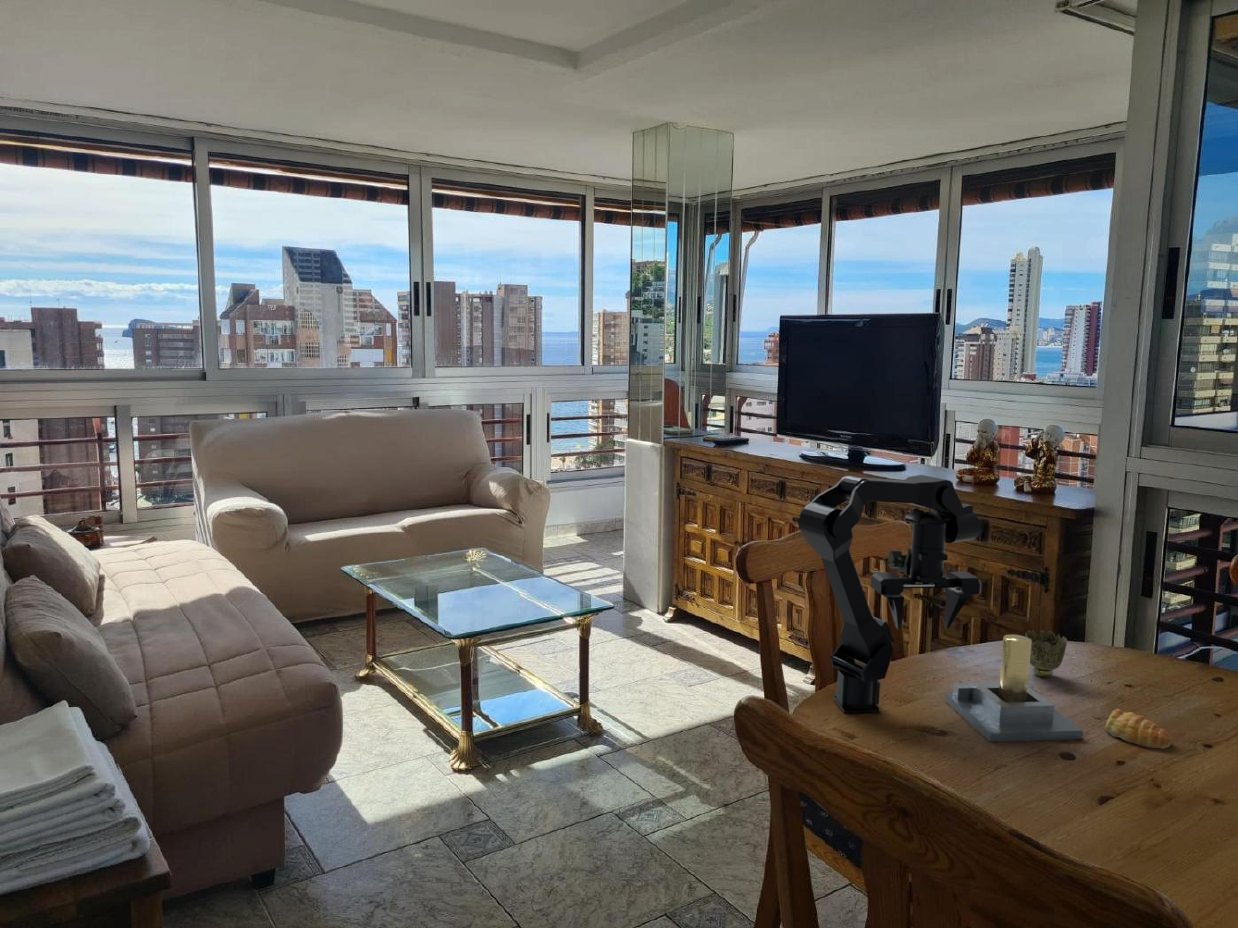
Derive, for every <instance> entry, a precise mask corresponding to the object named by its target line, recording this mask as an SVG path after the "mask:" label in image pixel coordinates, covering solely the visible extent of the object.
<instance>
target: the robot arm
mask: <svg viewBox="0 0 1238 928" xmlns="http://www.w3.org/2000/svg"><path fill="white" fill-rule="evenodd" d="M847 500H849V502H848V504H847V505H846V506H845V507H844V508H843V509H840V508H836V507H838V506H840V505H841V504H843V503H845V502H846V501H847ZM868 502H878V503H880V502H882V503H883V502H884V503H900V504H901V503H903V504H905V503H906V504H908V505H909V504H910V505H913V506H916V507H920V508H923V509H925V510H928V511H924V510H923V509H919V508H918V509H917V508H913V509H912V511H911V512H910V513H909V514H907V515H906V516H905V517H904V522H908V523H911V524H912V533H911V534H912V537H911V546H908V549H907V553H906V555H903V553H902V551H901V550H891V551H889V552H888V559H887V562H888V568H889V569H897V574H900V575H902V574H903V575H905V576H908V577H900V576H898V575H897V574H896V573H894V572H893V571H892V572H891V571H889V572H887V571H886V572H885V571H881V572H877V571H876V572H874V573H873V574H872V575H871V577H870V588H872V589H873V590H874V591H876V592H877V593H878V594H879V595H881V596H883V597H884V598H885V599H886V600H887V601H886V602H887V603H888V605H889V608H890V612H891V616H892V619H893V622H894V625H895V628H896V629H897V630H898V631H899V630H901V628H902V623H903V615H904V614H903V613H904V604H905V596H903V595H902V593H903V592H904V589H944V591H945V592H944V593H945V598H946V600H945V608H944V609H945V610H944V617H943V626H944V628H945V629H946V630H947V629H948V630H949V628H950V627H951V625H952V624H953V622H955V621H954V620H955V619H956V618H957V616H958V615H959V613H960V611H961V610H962V608H963V607H964V606H965V605H966V604H967V602H968V601H969V600H970V599H971V600H972V599H974V595H980V594H981V593H982V582H981V580H980V579H979V578H978V576H975V574H972V573H970V572H968V571H948V573H947V574H946V575H944V564H945V561H948V556H949V555H948V553H947V554H946V553H945V551H946V550H945V549H946V544H953V543H954V544H955V543H960V542H961V543H962V542H967V541H972V540H973V541H974V540H975V539H977V538H978V537H979V535H980V534H981V531H982V530H981V529H982V524H981V522H980V518H979V517H978V515H977V514H976V513H975V512H974V506H973V505H972V504H967V503H962V502H961V500H960V498H959V495H958V494H957V492H956V490H955V486H954V483H953V481H952V480H948V479H944V478H938V477H934V476H929V475H924V474H920V475H919V474H918V475H913V476H908V477H907V478H905V479H889V478H873V477H871V478H870V477H859V476H855V475H846V476H843V477H842V478H841V479H839V481H838V482H836V484H835V485H833V486H831V487H830V488H827V489H826V490H824V491H822V492H821V493H818V494H817V495H816V496H815V497H813V499H812V500H811V501H810V502H809V503H808V504H806V505H805V506H804V507H803V508H802V510H801V511H800V514H799V517H797V525H798V529H799V531H800V532H801V534H802V536H803V537H804V539H805V541H806V543H808V545H809V546H810V547H811V548H812V549H813V550H814V551H815V552H816V554H818V555H819V557H820V559H821V562H822V564H823V567H824V570H825V573H826V576H827V578H828V581H829V584H830V588H831V589H832V592H833V595H834V598H835V600H836V603H837V606H838V609H839V612H840V614H841V617H842V621H843V625H842V628H841V631H840V638H841V641H840V643H839V644H838V645H837V647H836V648H835V649H834V651H832V653H831V654H830V656H829V659H830V660H829V661H830V663H831V664H830V665H831V667H832V668H836V669H837V682H836V683H837V684H836V695H833V696H832V699H833V701H834V702H835V703H836V705H837V706H838V707H839V708H840V709H841V710H842V712H843V713H846V714H858V713H859V714H860V713H862V714H863V713H865V714H866V713H880V712H881V708H880V707H879V704H880V695H881V682H880V680H884V679H885V678H886V676H887V674H888V670H889V667H890V663H891V661H892V657H893V655H894V644H893V642H895V638H893V636H892V634H891V631H890V630H891V629H890V626H889V623H888V622H887V621H885V620H883V619H881V618H877V617H875V616H873V615H872V612H871V609H870V606H869V604H868V601H867V597H866V595H865V593H864V589H863V586H862V584H861V580H860V577H859V575H858V572H857V569H856V566H855V563H854V559H853V557H852V553H851V551H850V547H851V544H852V541H853V537H854V535H853V528H854V527H855V526H856V525H857V524H858V523H859V521H860V520H861V518H862V514H863V510H864V507H865V505H866V504H867V503H868ZM860 662H861V663H860ZM862 663H863V664H862ZM864 664H865V665H864Z"/></svg>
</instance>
